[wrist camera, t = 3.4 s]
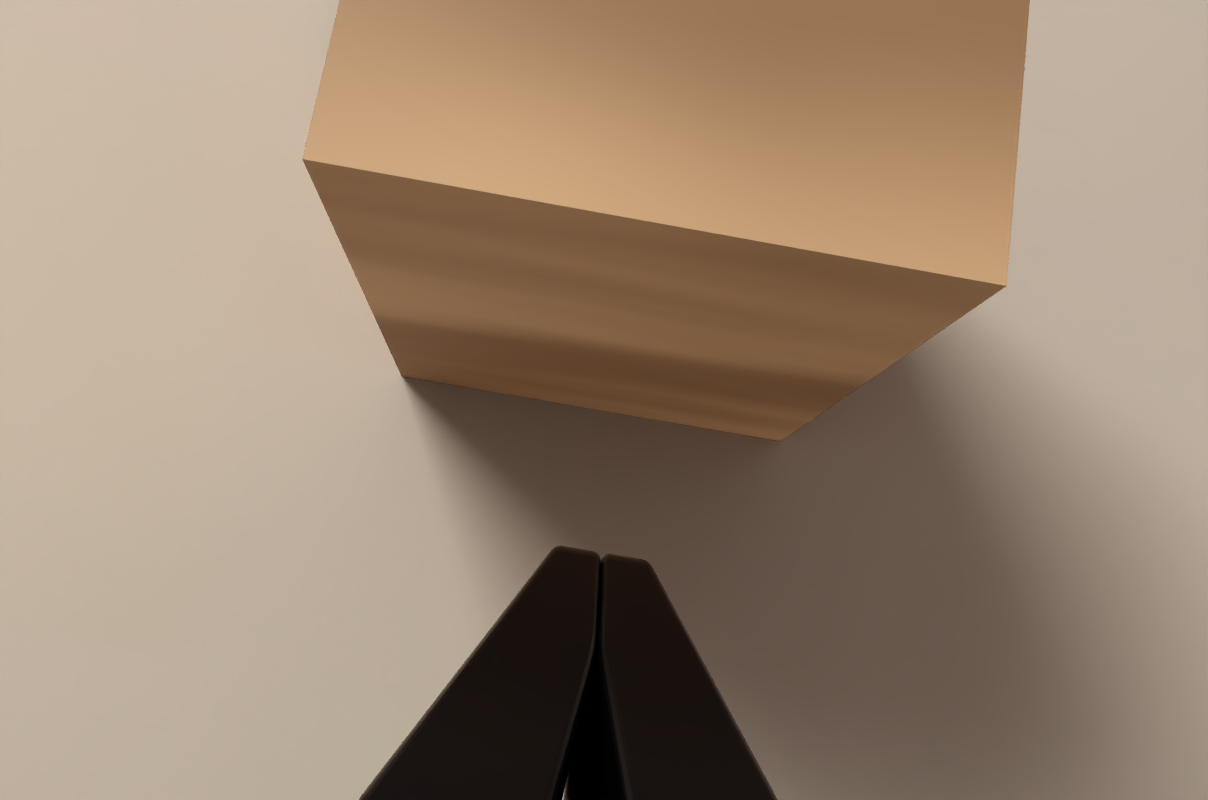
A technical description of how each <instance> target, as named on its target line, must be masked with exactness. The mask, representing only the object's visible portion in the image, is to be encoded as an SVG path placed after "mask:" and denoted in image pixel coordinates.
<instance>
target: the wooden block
mask: <svg viewBox="0 0 1208 800" xmlns="http://www.w3.org/2000/svg"><path fill="white" fill-rule="evenodd" d="M1029 3H1030V0H340V1H339V5H338V10H337V14H336V18H335V22H334V27H333V31H332V35H331V39H330V44H329V48H328V52H327V56H326V61H325V65H324V69H323V73H322V78H321V82H320V86H319V90H318V95H317V99H316V103H315V107H314V112H313V116H312V120H311V124H310V129H309V133H308V137H307V141H306V146H305V150H304V154H303V158H302V159H303V161H304V164H305V166H306V168H307V170H308V172H309V175H310V177H311V179H312V181H313V183H314V186H315V188H316V190H317V192H318V194H319V196H320V199H321V201H322V203H323V205H324V207H325V210H326V212H327V214H328V216H329V218H330V221H331V223H332V225H333V227H334V229H335V231H336V234H337V236H338V238H339V240H340V242H341V245H342V247H343V249H344V251H345V253H346V255H347V258H348V260H349V262H350V264H351V266H352V269H353V271H354V273H355V275H356V277H357V280H358V282H359V284H360V286H361V288H362V290H363V293H364V295H365V297H366V299H367V301H368V304H369V306H370V308H371V310H372V312H373V315H374V317H375V319H376V321H377V323H378V325H379V328H380V330H381V332H382V334H383V336H384V339H385V341H386V343H387V345H388V347H389V350H390V352H391V354H392V356H393V358H394V360H395V363H396V365H397V367H398V369H399V371H400V374H401V376H403V377H409V378H415V379H421V380H427V381H432V382H438V383H444V384H450V385H456V386H462V387H467V388H473V389H479V390H485V391H491V392H497V393H502V394H508V395H514V396H520V397H526V398H532V399H537V400H543V401H549V402H555V403H561V404H567V405H572V406H578V407H584V408H590V409H596V410H602V411H607V412H613V413H619V414H625V415H631V416H637V417H642V418H648V419H654V420H660V421H666V422H671V423H677V424H683V425H689V426H695V427H701V428H706V429H712V430H718V431H724V432H730V433H736V434H741V435H747V436H753V437H759V438H765V439H771V440H776V441H782V440H783V439H785V438H786V437H787V436H789V435H790V434H792V433H793V432H795V431H796V430H798V429H799V428H801V427H802V426H803V425H805V424H806V423H808V422H809V421H811V420H812V419H814V418H815V417H817V416H818V415H819V414H821V413H822V412H824V411H825V410H827V409H828V408H830V407H831V406H833V405H834V404H835V403H837V402H838V401H840V400H841V399H843V398H844V397H846V396H847V395H849V394H850V393H851V392H853V391H854V390H856V389H857V388H859V387H860V386H862V385H863V384H865V383H866V382H867V381H869V380H870V379H872V378H873V377H875V376H876V375H878V374H879V373H881V372H882V371H883V370H885V369H886V368H888V367H889V366H891V365H892V364H894V363H895V362H897V361H898V360H899V359H901V358H902V357H904V356H905V355H907V354H908V353H910V352H911V351H913V350H914V349H915V348H917V347H918V346H920V345H921V344H923V343H924V342H926V341H927V340H929V339H930V338H931V337H933V336H934V335H936V334H937V333H939V332H940V331H942V330H943V329H945V328H946V327H947V326H949V325H950V324H952V323H953V322H955V321H956V320H958V319H959V318H961V317H962V316H963V315H965V314H966V313H968V312H969V311H971V310H972V309H974V308H975V307H977V306H978V305H979V304H981V303H982V302H984V301H985V300H987V299H988V298H990V297H991V296H993V295H994V294H995V293H997V292H998V291H1000V290H1001V289H1003V288H1004V287H1006V286H1007V274H1008V261H1009V249H1010V237H1011V225H1012V212H1013V200H1014V188H1015V175H1016V163H1017V151H1018V138H1019V126H1020V114H1021V101H1022V89H1023V77H1024V64H1025V52H1026V40H1027V27H1028V15H1029Z"/></svg>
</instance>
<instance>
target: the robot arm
mask: <svg viewBox="0 0 1208 800" xmlns="http://www.w3.org/2000/svg"><path fill="white" fill-rule="evenodd" d="M564 789H565V792H564ZM563 793H564V800H777V798H776V796H775V794H774V792H773V790H772V788H771V787H770V785H769V783H768V781H767V779H766V777H765V775H764V774H763V772H762V770H761V768H760V766H759V764H758V763H757V761H756V759H755V757H754V755H753V753H752V751H751V750H750V748H749V746H748V744H747V742H746V740H745V738H744V737H743V735H742V733H741V731H740V729H739V727H738V725H737V724H736V722H735V720H734V718H733V716H732V714H731V712H730V711H729V709H728V707H727V705H726V703H725V701H724V699H723V698H722V696H721V694H720V692H719V690H718V688H717V687H716V685H715V683H714V681H713V679H712V677H711V675H710V674H709V672H708V670H707V668H706V666H705V664H704V662H703V661H702V659H701V657H700V655H699V653H698V651H697V649H696V648H695V646H694V644H693V642H692V640H691V638H690V636H689V635H688V633H687V631H686V629H685V627H684V625H683V624H682V622H681V620H680V618H679V616H678V614H677V612H676V611H675V609H674V607H673V605H672V603H671V601H670V599H669V598H668V596H667V594H666V592H665V590H664V588H663V586H662V585H661V583H660V581H659V579H658V577H657V575H656V573H655V572H654V570H653V568H652V566H651V565H650V564H649V563H648V562H647V561H645V560H642V559H636V558H630V557H624V556H618V555H612V554H608V555H605V556H604V557H603V558H602V560H601V559H600V557H599V555H598V554H597V553H596V552H594V551H588V550H582V549H576V548H570V547H564V546H558V547H555V548H554V549H553V550H551V552H550V553H549V554H548V555H547V557H546V558H545V559H544V560H543V562H542V563H541V564H540V566H539V567H538V568H537V569H536V571H535V572H534V573H533V575H532V576H531V577H530V578H529V580H528V581H527V582H526V584H525V585H524V586H523V588H522V589H521V590H520V591H519V593H518V594H517V595H516V597H515V598H514V599H513V600H512V602H511V603H510V604H509V606H508V607H507V608H506V609H505V611H504V612H503V613H502V615H501V616H500V617H499V619H498V620H497V621H496V622H495V624H494V625H493V626H492V628H491V629H490V630H489V631H488V633H487V634H486V635H485V637H484V638H483V639H482V640H481V642H480V643H479V644H478V646H477V647H476V648H475V650H474V651H473V652H472V653H471V655H470V656H469V657H468V659H467V660H466V661H465V662H464V664H463V665H462V666H461V668H460V669H459V670H458V671H457V673H456V674H455V675H454V677H453V678H452V679H451V681H450V682H449V683H448V684H447V686H446V687H445V688H444V690H443V691H442V692H441V693H440V695H439V696H438V697H437V699H436V700H435V701H434V702H433V704H432V705H431V706H430V708H429V709H428V710H427V711H426V713H425V714H424V715H423V717H422V718H421V719H420V721H419V722H418V723H417V724H416V726H415V727H414V728H413V730H412V731H411V732H410V733H409V735H408V736H407V737H406V739H405V740H404V741H403V742H402V744H401V745H400V746H399V748H398V749H397V750H396V752H395V753H394V754H393V755H392V757H391V758H390V759H389V761H388V762H387V763H386V764H385V766H384V767H383V768H382V770H381V771H380V772H379V773H378V775H377V776H376V777H375V779H374V780H373V781H372V783H371V784H370V785H369V786H368V788H367V789H366V790H365V792H364V793H363V794H362V795H361V797H360V799H359V800H562V797H563Z"/></svg>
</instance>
